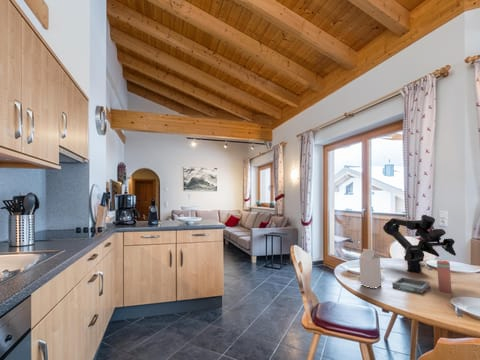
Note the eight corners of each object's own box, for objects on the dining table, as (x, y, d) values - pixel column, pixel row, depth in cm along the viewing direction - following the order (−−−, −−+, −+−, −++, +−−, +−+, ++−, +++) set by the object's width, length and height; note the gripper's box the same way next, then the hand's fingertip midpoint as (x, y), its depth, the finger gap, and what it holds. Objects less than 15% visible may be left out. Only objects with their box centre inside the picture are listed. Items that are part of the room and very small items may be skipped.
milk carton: (372, 289, 133) (370, 251, 135) (360, 285, 140) (358, 249, 141) (381, 287, 137) (379, 250, 138) (369, 283, 143) (367, 247, 144)
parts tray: (392, 287, 135) (392, 282, 135) (401, 281, 144) (400, 276, 144) (422, 294, 126) (421, 288, 126) (429, 287, 134) (429, 282, 135)
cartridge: (437, 290, 130) (435, 261, 130) (440, 287, 133) (438, 259, 134) (450, 293, 126) (448, 263, 126) (452, 290, 129) (450, 261, 130)
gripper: (415, 225, 146) (435, 244, 133) (447, 223, 148) (470, 243, 134) (409, 240, 152) (428, 260, 138) (439, 239, 153) (461, 259, 139)
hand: (447, 255), depth 137 cm, fingers open, 9 cm apart
